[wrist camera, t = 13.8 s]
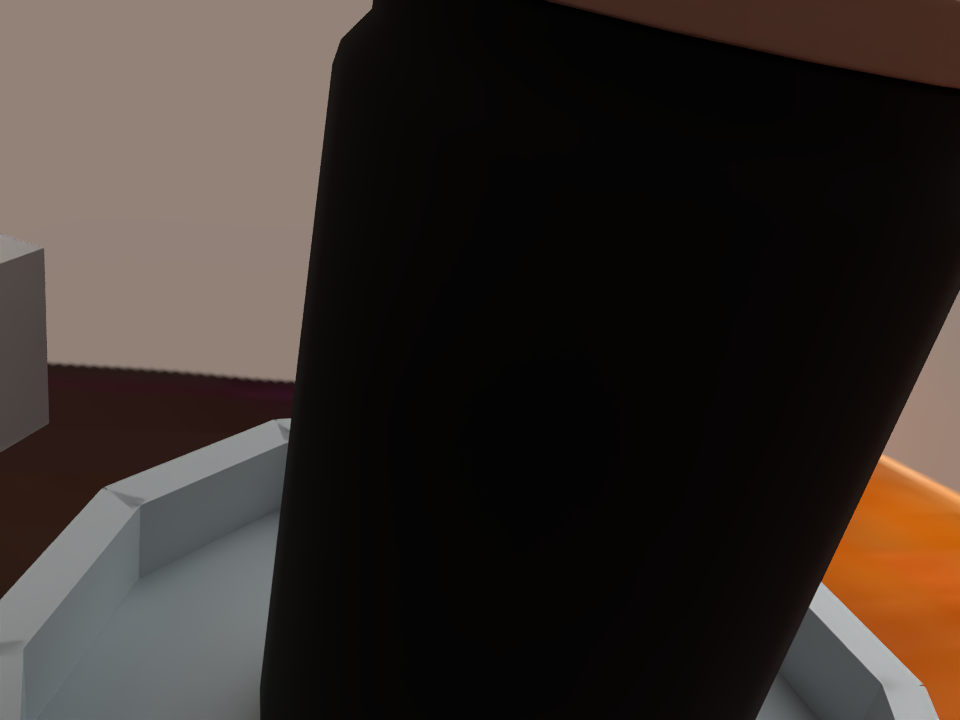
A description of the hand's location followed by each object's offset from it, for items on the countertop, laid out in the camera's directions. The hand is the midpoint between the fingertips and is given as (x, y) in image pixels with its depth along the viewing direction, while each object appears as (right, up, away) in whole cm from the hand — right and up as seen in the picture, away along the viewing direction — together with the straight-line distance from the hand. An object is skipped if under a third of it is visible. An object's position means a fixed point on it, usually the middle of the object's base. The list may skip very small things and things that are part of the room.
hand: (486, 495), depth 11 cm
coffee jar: (0, -8, +11) cm, 13 cm away
